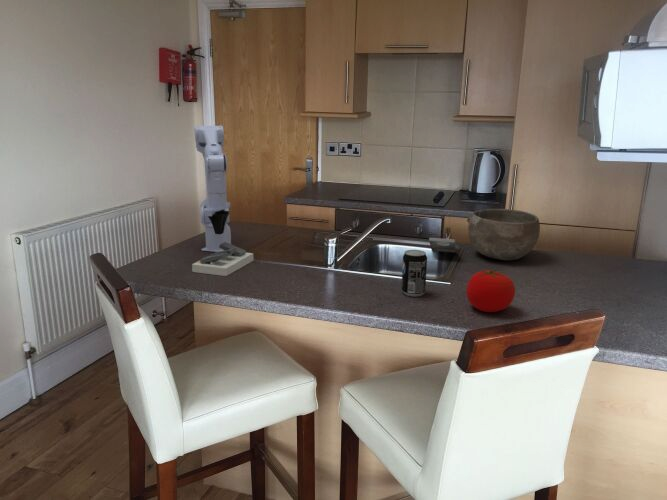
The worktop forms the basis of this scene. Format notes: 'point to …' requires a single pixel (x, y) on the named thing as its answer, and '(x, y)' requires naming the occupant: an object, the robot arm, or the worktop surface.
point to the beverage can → (414, 273)
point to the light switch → (442, 244)
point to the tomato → (490, 291)
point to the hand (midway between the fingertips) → (219, 233)
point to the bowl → (503, 233)
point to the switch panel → (223, 264)
